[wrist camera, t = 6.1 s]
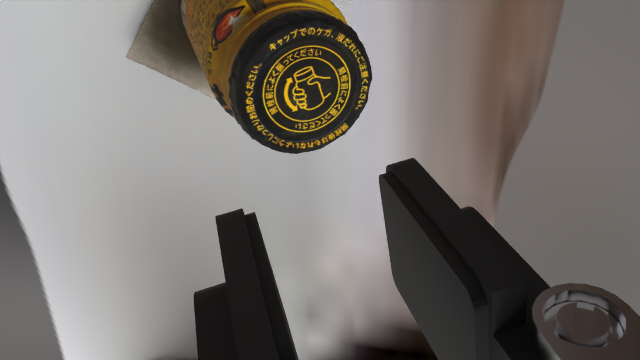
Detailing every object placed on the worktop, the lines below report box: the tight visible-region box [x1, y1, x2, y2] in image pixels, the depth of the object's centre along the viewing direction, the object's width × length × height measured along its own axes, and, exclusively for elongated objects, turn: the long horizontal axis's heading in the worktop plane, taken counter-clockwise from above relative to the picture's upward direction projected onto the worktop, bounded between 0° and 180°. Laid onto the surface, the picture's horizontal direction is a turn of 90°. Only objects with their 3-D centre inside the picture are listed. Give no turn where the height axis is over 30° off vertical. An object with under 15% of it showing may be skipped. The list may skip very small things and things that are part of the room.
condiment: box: [126, 0, 372, 154], centre depth 23 cm, size 7×8×12 cm
